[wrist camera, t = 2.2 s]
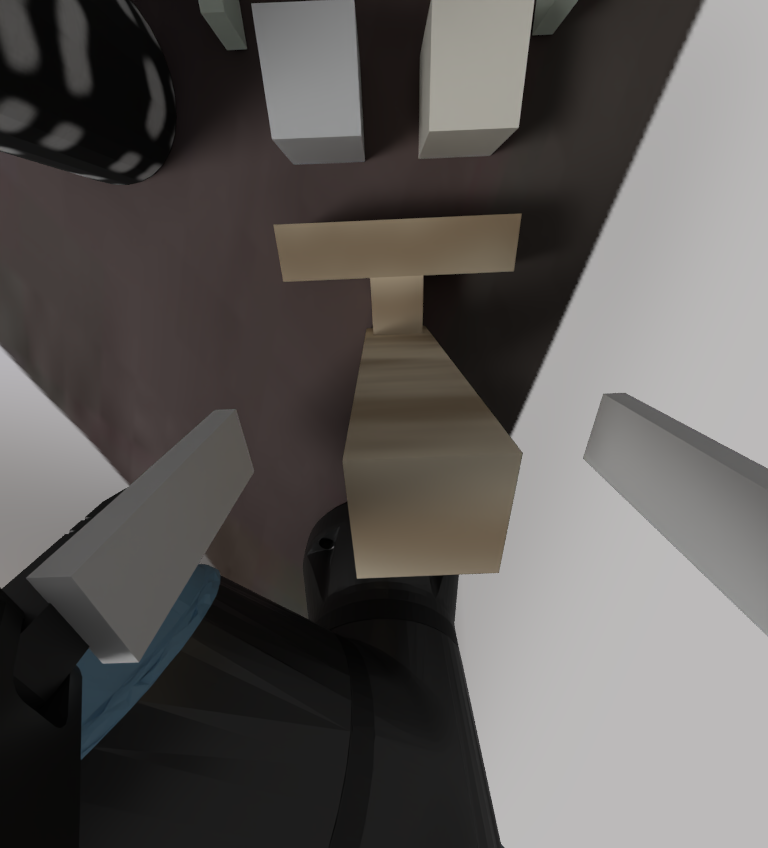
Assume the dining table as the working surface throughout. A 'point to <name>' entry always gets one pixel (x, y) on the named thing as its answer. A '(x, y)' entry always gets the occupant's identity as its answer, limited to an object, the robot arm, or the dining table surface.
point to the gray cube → (312, 79)
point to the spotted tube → (84, 88)
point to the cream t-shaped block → (416, 397)
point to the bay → (227, 24)
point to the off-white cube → (472, 75)
